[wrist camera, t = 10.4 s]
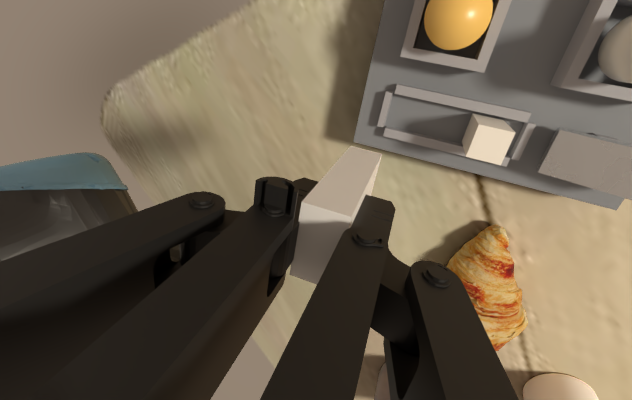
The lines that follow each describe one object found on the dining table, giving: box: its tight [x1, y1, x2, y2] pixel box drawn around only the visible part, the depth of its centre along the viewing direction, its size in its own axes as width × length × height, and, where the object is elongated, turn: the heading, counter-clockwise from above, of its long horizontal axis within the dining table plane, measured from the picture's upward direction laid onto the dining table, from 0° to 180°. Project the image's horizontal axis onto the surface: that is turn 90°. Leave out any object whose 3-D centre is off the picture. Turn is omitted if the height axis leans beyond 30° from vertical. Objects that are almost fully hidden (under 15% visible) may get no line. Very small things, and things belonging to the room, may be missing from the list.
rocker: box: [537, 127, 632, 200], centre depth 25 cm, size 8×4×2 cm, turn 81°
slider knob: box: [462, 113, 516, 165], centre depth 27 cm, size 3×3×5 cm
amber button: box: [424, 0, 493, 50], centre depth 24 cm, size 4×4×4 cm
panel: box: [353, 0, 632, 210], centre depth 28 cm, size 24×16×7 cm, turn 81°
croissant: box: [446, 224, 528, 351], centre depth 38 cm, size 21×10×8 cm
